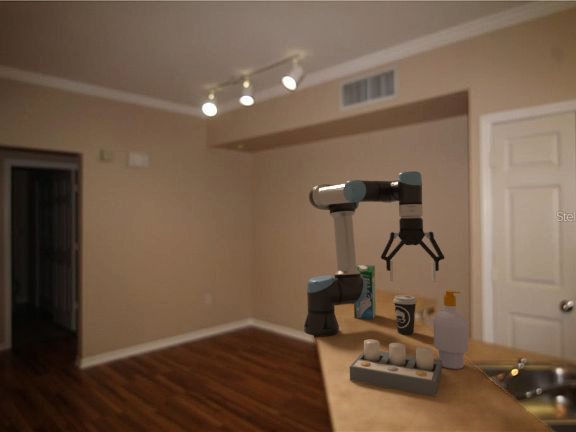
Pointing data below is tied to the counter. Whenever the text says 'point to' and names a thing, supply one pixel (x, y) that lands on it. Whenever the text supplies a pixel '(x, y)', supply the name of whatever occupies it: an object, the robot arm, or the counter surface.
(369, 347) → the button
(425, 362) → the button
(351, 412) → the counter surface
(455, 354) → the soap bottle
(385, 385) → the board
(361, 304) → the milk carton
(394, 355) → the button
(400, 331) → the coffee cup
